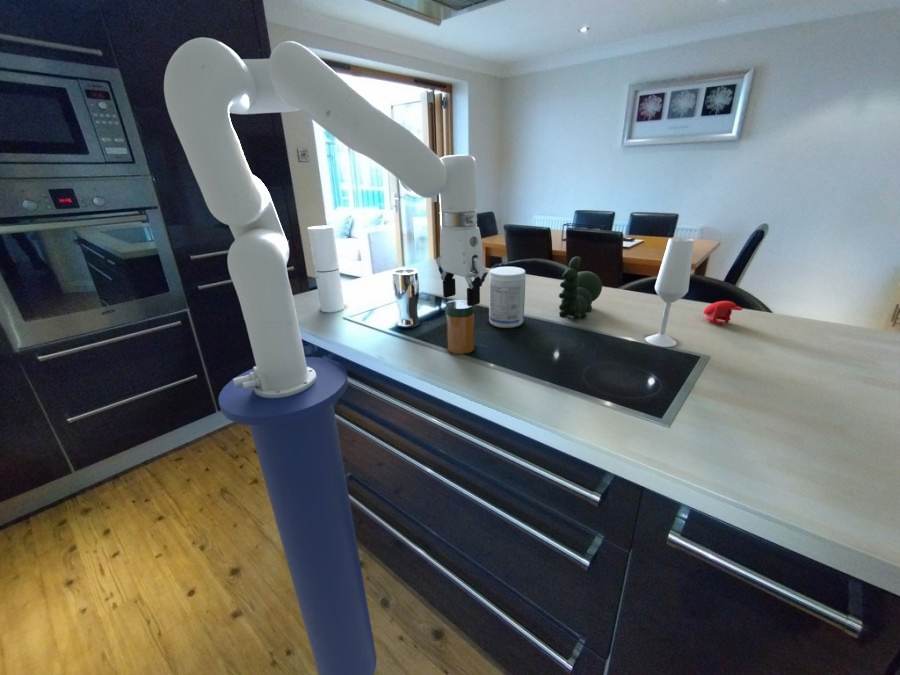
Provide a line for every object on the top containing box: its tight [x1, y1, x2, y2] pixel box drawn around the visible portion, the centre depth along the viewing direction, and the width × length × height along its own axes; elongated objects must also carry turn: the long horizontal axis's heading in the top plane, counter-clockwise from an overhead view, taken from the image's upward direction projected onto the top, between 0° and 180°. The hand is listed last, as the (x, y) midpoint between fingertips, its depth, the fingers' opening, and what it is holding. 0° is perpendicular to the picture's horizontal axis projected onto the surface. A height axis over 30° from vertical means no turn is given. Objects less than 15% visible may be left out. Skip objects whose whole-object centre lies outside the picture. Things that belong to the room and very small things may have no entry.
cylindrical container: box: [307, 225, 345, 313], centre depth 118 cm, size 7×7×25 cm
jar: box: [445, 312, 475, 355], centre depth 90 cm, size 6×6×11 cm
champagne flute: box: [644, 237, 695, 348], centre depth 88 cm, size 7×7×24 cm
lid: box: [444, 299, 476, 317], centre depth 88 cm, size 7×7×2 cm
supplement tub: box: [488, 266, 527, 329], centre depth 104 cm, size 10×10×15 cm
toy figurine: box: [558, 256, 603, 321], centre depth 109 cm, size 9×19×25 cm
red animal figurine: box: [702, 300, 743, 326], centre depth 102 cm, size 8×6×6 cm
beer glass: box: [392, 267, 421, 329], centre depth 105 cm, size 7×7×15 cm
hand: (461, 300), depth 88 cm, fingers open, 8 cm apart
